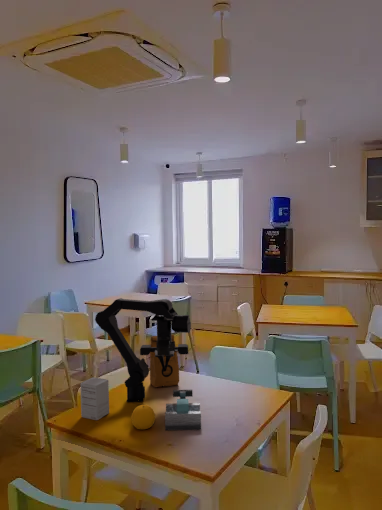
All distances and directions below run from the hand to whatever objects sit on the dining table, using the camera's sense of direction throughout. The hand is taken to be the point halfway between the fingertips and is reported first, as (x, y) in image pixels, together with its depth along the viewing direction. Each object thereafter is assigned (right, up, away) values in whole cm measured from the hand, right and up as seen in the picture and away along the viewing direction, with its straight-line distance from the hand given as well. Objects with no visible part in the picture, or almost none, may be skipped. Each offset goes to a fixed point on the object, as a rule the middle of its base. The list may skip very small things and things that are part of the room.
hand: (164, 371), depth 168 cm
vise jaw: (+7, -11, -15) cm, 19 cm away
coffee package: (-1, -12, +20) cm, 23 cm away
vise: (+8, -12, -16) cm, 22 cm away
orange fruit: (-6, -13, -23) cm, 27 cm away
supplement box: (-25, -13, -12) cm, 30 cm away
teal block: (+7, -11, -20) cm, 24 cm away
